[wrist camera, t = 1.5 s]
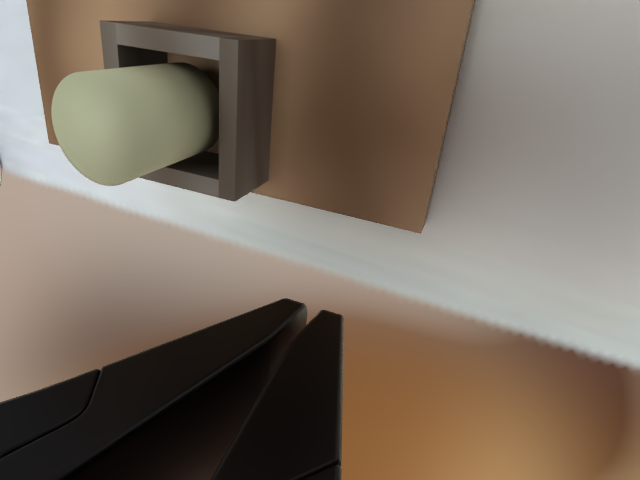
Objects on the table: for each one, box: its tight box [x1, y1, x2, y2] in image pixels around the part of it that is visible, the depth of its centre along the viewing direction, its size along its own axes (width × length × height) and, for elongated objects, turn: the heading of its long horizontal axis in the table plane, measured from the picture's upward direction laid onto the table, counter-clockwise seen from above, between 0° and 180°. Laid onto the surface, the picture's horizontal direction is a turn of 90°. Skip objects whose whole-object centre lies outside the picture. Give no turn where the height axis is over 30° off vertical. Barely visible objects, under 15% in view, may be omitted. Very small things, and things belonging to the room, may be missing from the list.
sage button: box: [51, 62, 219, 186], centre depth 16 cm, size 3×3×4 cm
